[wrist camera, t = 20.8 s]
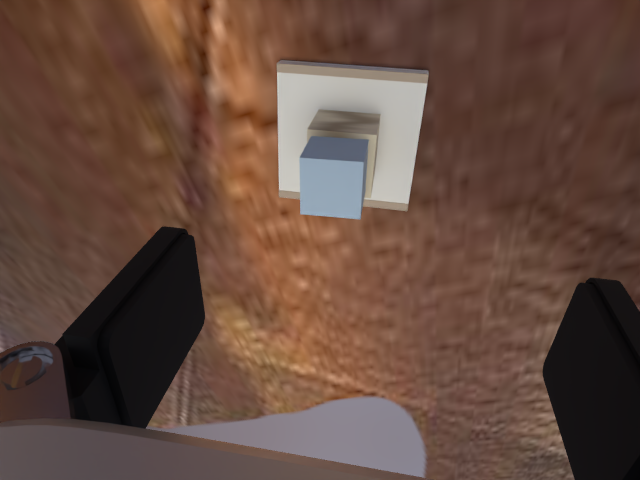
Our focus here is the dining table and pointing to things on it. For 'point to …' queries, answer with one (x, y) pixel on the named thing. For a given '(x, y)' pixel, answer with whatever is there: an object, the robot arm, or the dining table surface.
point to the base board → (353, 96)
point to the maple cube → (350, 133)
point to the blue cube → (333, 177)
